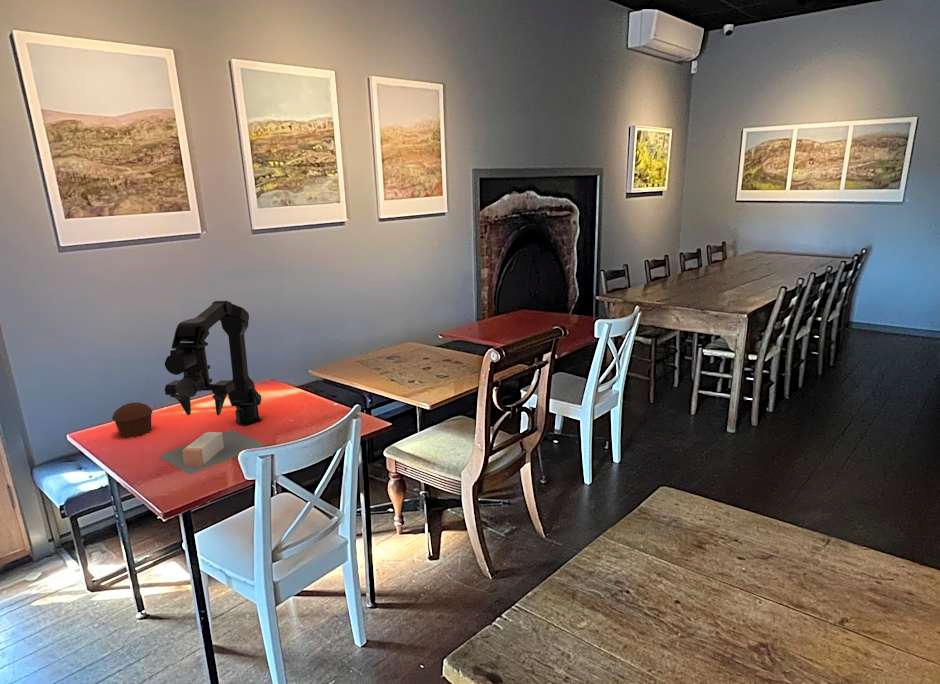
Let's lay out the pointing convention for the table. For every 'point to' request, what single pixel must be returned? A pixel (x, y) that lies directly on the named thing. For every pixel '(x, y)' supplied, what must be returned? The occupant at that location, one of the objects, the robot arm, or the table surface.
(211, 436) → the cream block
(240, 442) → the charcoal mat
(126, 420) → the muffin
